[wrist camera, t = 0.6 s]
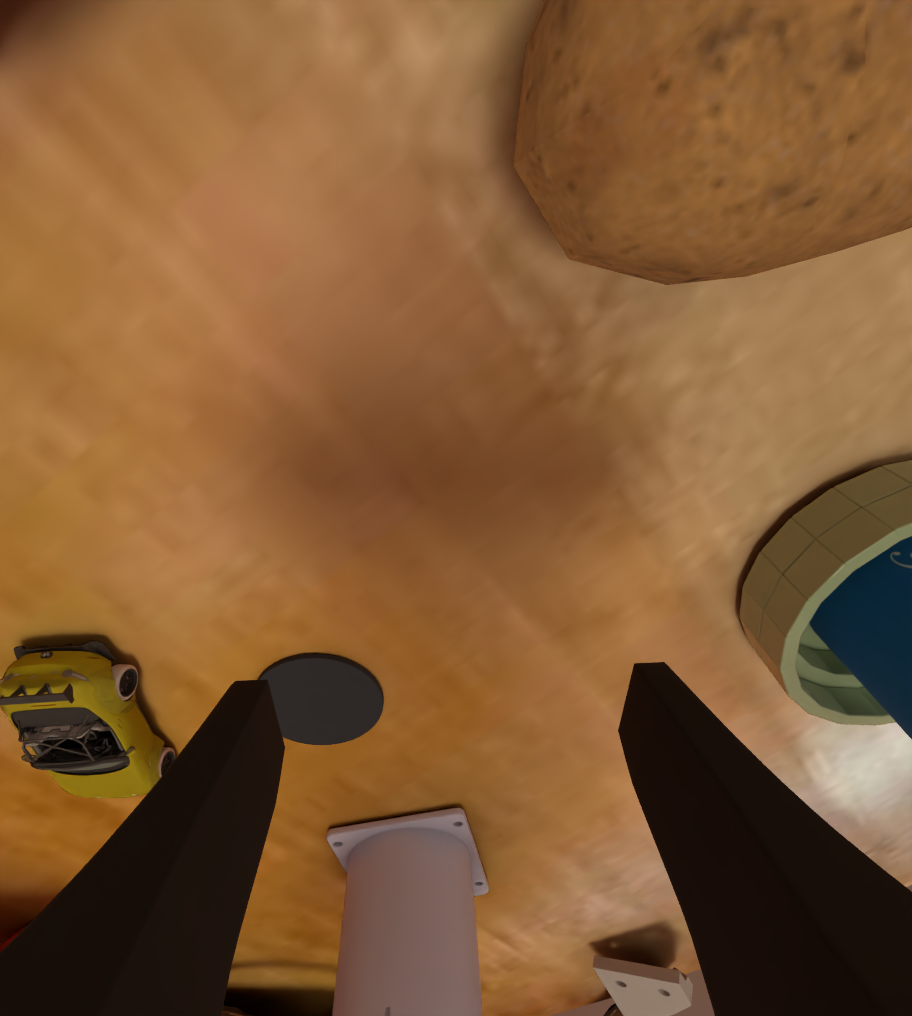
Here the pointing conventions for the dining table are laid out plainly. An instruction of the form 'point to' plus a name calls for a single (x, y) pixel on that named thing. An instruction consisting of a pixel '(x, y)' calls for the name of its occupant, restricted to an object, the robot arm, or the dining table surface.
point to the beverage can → (875, 628)
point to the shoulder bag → (232, 1012)
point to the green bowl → (823, 588)
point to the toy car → (83, 720)
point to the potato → (717, 131)
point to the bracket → (643, 988)
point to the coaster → (323, 698)
